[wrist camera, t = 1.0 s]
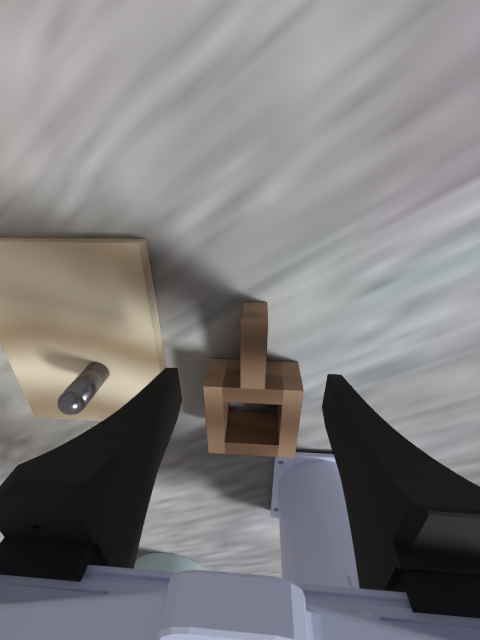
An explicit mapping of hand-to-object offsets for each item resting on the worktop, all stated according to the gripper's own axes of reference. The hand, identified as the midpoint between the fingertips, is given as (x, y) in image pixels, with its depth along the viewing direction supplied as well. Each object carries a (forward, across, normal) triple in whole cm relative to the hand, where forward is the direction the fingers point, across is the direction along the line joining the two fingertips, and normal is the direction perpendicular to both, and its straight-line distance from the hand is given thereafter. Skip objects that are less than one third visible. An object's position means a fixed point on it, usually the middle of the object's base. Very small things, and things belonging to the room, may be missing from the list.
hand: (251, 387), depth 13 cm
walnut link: (+6, 0, +3) cm, 7 cm away
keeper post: (+5, +11, +3) cm, 12 cm away
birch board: (+6, +12, +1) cm, 13 cm away
